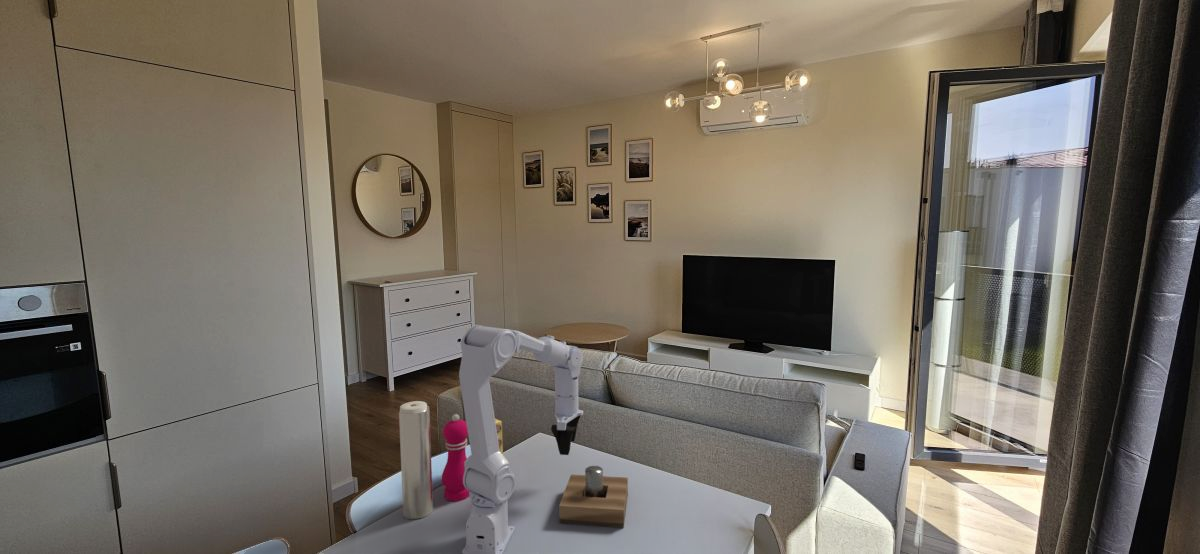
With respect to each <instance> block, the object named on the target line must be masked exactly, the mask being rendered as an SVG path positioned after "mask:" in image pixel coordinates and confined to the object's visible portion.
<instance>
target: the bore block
mask: <svg viewBox="0 0 1200 554" xmlns="http://www.w3.org/2000/svg"><path fill="white" fill-rule="evenodd" d="M628 484H629V478H628V477H624V476H623V477H622V476H621V477H620V476H607V475H605V476H604V475H603V498H598V497H586V481H585V474H584V475H583V474H570V476H569V478H568V481H567V484H566V486H565V489H564V492H563V495H562V498H561V500H560V503H559V506H558V507H559V510H558V512H559V513H558V514H559V515H558V516H559V518H558V519H559V520H558V521H559V523H558V524H562V525H574V526H588V527H589V526H592V527H604V528H605V527H606V528H619V529H620V528H621V529H624V528H625V520H626V511H627V506H628V505H627V504H628V496H629V485H628Z"/></svg>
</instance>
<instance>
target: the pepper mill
mask: <svg viewBox="0 0 1200 554" xmlns="http://www.w3.org/2000/svg"><path fill="white" fill-rule="evenodd" d="M442 435H443V438H444V439H445V448H446V449H447V459H446V464H445V466H444V468H443V471H442V474H441V483H442V485H443V486H444V490H443V491H444V492H443V493H444V495H443V496H444V498H445V500H447V501H450V502H459V501H462V500H466V499H467V498H468V497H469V491H468V490H467V489H466V488H465V487H464V484H463V476H464V472H465V465H464V462H465V461H466V459H467V458H468V457H467V454H466V453H467V452H466V447H467V446H468V439H467V437H469V435H468V429H467V423H466V420H463V419H460V415H459V414H458V413H455V414H453V415H452V416H451V420H450V421H448V422H447V423H446V424H445V425H444V427H443V430H442Z"/></svg>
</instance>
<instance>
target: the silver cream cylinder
mask: <svg viewBox="0 0 1200 554" xmlns="http://www.w3.org/2000/svg"><path fill="white" fill-rule="evenodd" d="M430 412H431V411H430V405H428V404H427V402H425V401H421V400H420V401H419V400H414V401H409V402H406V403H403V404H401V405H400V406H399V412H398V418H399V421H398V422H399V443H400V445H399V446H400V467H401V469H400V470H401V471H400V472H401V492H402V493H401V494H402V495H401V496H402V516H403V517H404V518H405V519H407V520H418V519H419V518H420V519H423V518H426V517H427V516H429V515H430V514H431V513H432V512H433V511H434V500H433V498H434V497H433V475H432V473H433V472H432V445H431V444H432V443H431V417H430V416H431V415H430ZM420 519H419V520H420Z"/></svg>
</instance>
